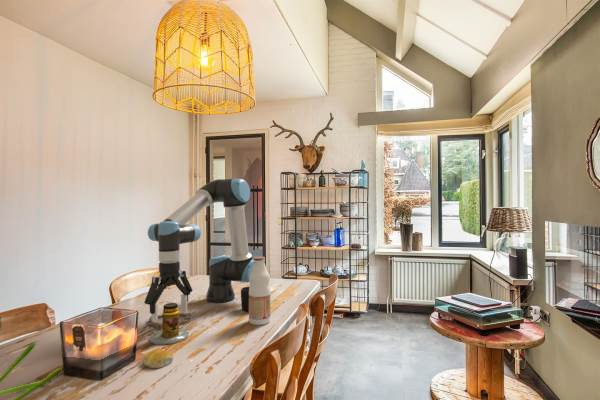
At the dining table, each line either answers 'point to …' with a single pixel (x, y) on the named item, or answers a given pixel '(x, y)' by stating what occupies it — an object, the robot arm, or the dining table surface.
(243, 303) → the pen holder
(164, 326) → the condiment
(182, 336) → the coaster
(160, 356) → the mossy stone
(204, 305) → the dining table surface
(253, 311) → the fruit juice
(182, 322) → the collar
